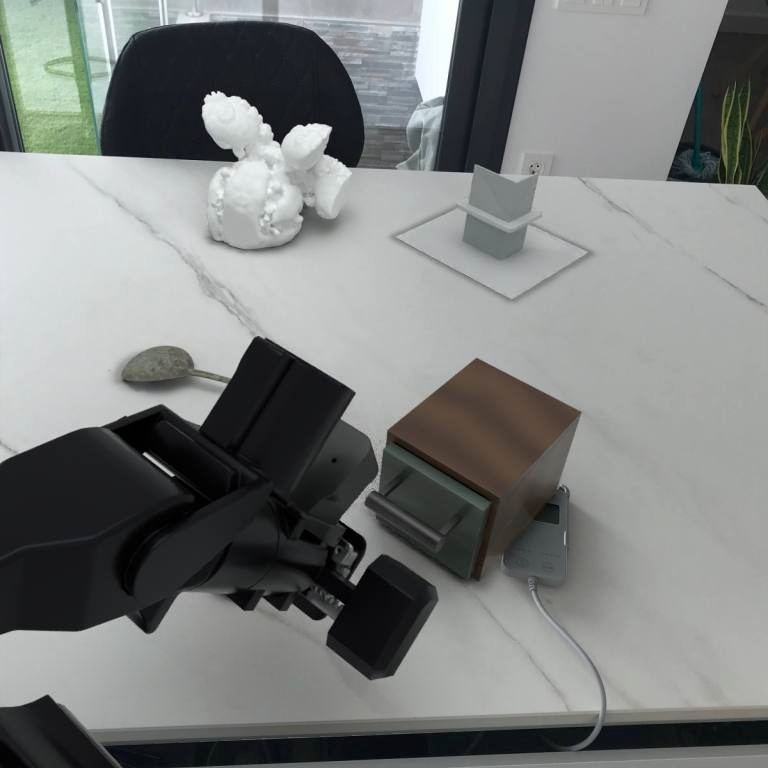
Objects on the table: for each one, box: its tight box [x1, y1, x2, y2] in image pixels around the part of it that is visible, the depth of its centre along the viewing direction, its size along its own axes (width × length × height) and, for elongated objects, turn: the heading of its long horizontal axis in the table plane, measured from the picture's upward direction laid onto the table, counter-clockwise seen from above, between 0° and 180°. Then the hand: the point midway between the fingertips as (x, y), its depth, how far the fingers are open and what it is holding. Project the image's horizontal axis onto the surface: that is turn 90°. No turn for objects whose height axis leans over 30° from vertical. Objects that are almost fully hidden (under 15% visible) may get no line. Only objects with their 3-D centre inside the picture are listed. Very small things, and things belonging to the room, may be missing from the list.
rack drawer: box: [363, 442, 491, 580], centre depth 67 cm, size 16×10×9 cm, turn 142°
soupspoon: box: [121, 345, 232, 384], centre depth 81 cm, size 22×3×7 cm
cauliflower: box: [201, 90, 353, 251], centre depth 107 cm, size 19×20×20 cm
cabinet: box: [385, 357, 583, 582], centre depth 69 cm, size 14×11×11 cm
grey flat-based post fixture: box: [395, 164, 590, 300], centre depth 107 cm, size 19×21×12 cm
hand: (343, 558), depth 56 cm, fingers closed
